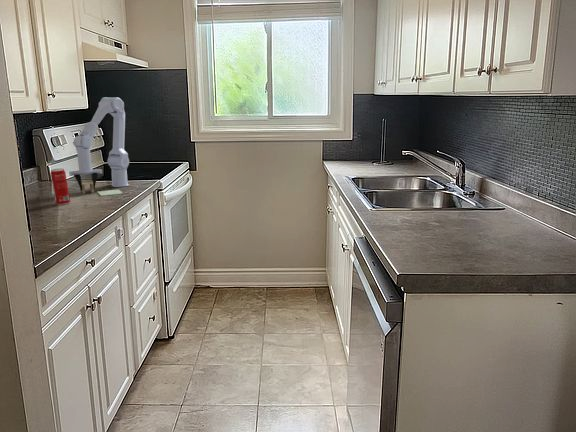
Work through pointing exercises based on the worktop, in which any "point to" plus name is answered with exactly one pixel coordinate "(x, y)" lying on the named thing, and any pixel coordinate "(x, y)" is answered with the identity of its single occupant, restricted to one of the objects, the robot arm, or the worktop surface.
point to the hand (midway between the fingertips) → (87, 189)
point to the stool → (87, 183)
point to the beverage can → (60, 186)
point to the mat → (109, 192)
